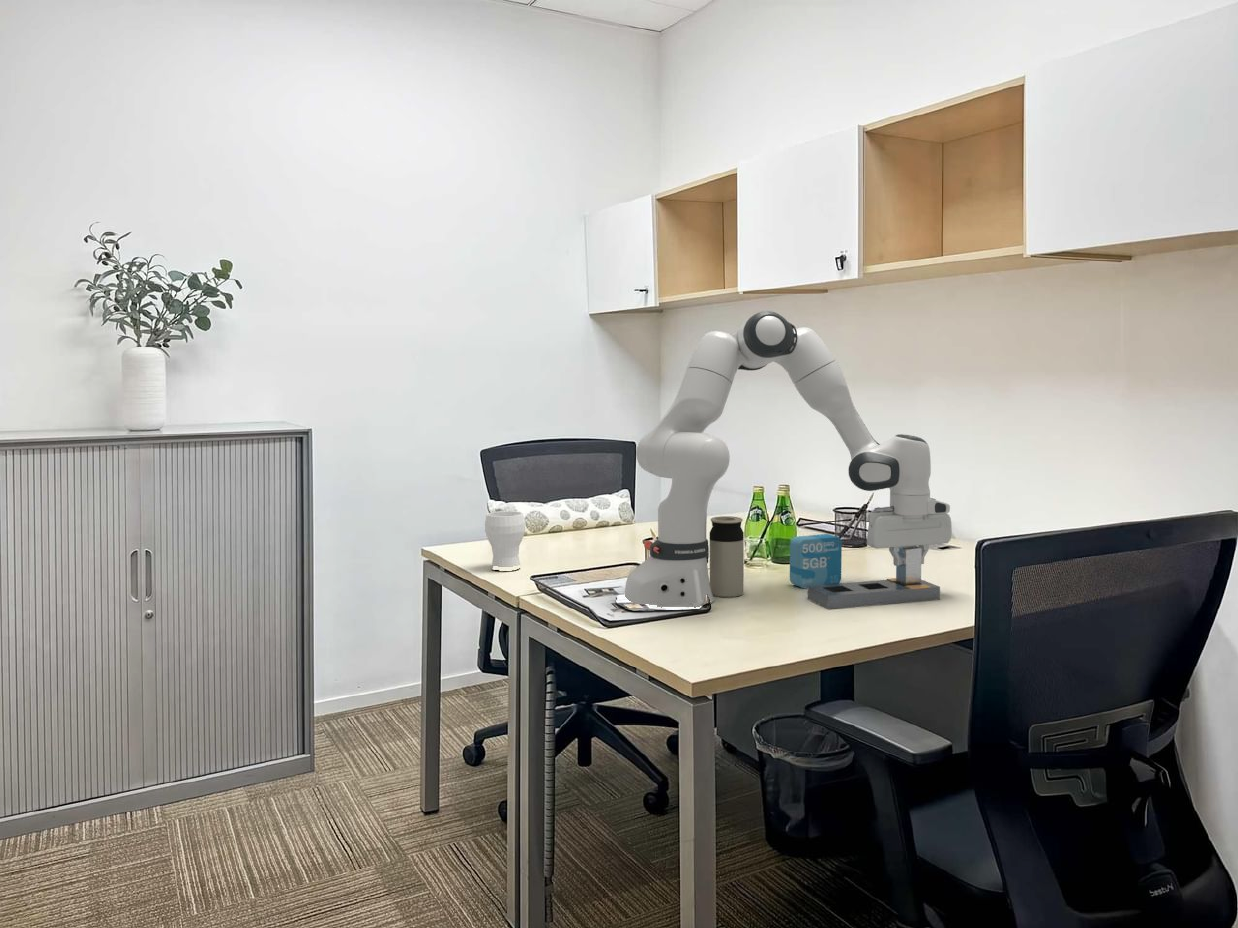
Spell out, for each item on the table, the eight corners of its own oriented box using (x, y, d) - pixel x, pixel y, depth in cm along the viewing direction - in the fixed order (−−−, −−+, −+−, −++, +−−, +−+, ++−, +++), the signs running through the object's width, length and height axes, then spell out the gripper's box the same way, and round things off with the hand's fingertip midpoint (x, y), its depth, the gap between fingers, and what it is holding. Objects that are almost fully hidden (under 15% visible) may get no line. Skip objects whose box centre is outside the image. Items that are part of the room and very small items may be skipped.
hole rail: (827, 609, 209) (828, 594, 208) (807, 598, 218) (807, 584, 218) (939, 599, 216) (940, 585, 216) (915, 589, 226) (915, 576, 225)
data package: (798, 589, 228) (799, 539, 227) (789, 585, 232) (789, 536, 231) (841, 584, 232) (842, 536, 231) (831, 580, 236) (831, 533, 235)
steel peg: (905, 587, 217) (906, 549, 216) (896, 583, 221) (896, 545, 220) (921, 585, 218) (921, 548, 217) (911, 581, 222) (911, 543, 221)
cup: (530, 571, 251) (529, 515, 250) (491, 574, 248) (490, 518, 246) (519, 563, 261) (518, 509, 260) (482, 566, 257) (480, 512, 256)
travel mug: (717, 599, 219) (716, 522, 217) (704, 591, 227) (704, 517, 225) (748, 596, 221) (749, 520, 219) (735, 588, 229) (735, 515, 227)
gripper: (876, 509, 212) (875, 570, 213) (956, 504, 217) (954, 564, 219) (862, 505, 218) (861, 565, 219) (940, 501, 223) (938, 558, 225)
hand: (908, 564), depth 219 cm, fingers closed on steel peg, 4 cm apart
